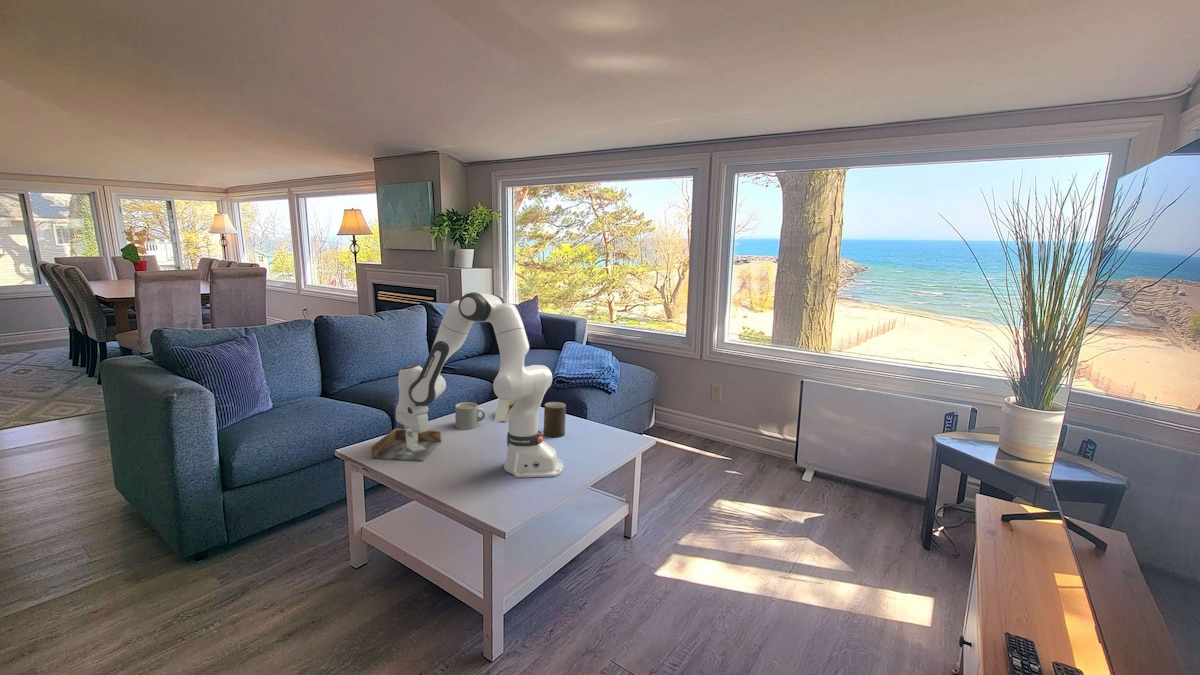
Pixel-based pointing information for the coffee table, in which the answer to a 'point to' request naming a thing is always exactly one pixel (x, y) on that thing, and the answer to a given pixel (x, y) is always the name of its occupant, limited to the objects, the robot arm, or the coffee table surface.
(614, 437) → the coffee table surface
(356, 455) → the coffee table surface
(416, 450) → the aluminium bracket
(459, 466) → the coffee table surface
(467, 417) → the coffee mug
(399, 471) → the coffee table surface
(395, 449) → the tray
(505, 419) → the wall
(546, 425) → the pillar candle
